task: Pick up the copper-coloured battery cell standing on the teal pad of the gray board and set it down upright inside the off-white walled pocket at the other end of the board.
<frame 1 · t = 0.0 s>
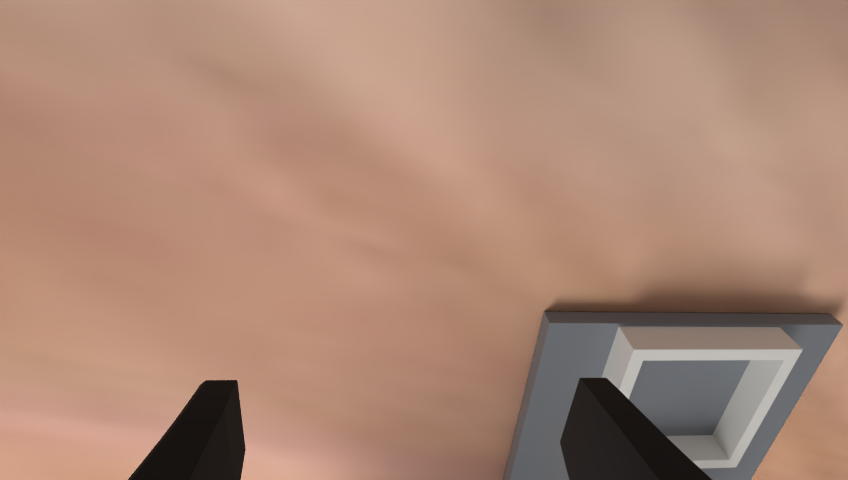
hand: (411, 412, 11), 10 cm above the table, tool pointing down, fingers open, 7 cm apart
gray board: (642, 433, 28), on the table
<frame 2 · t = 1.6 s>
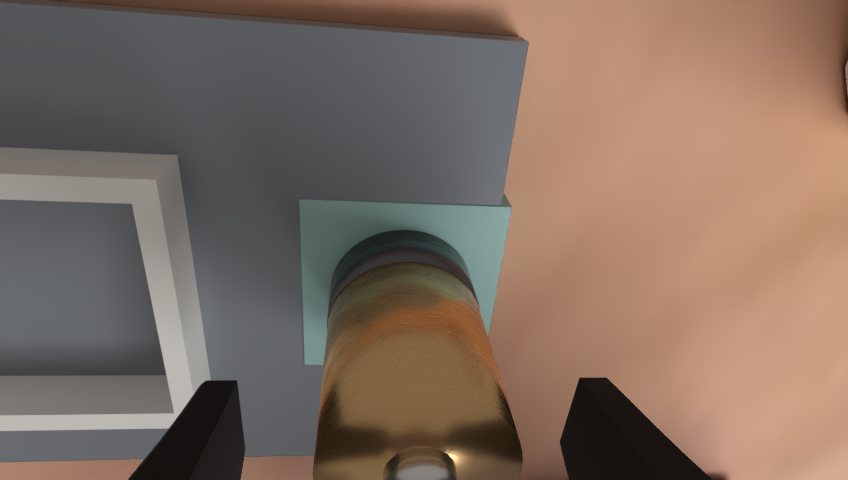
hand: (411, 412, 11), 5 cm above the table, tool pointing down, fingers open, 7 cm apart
gray board: (209, 271, 15), on the table
cell: (401, 291, 15), point 1 cm above the table, touching gray board
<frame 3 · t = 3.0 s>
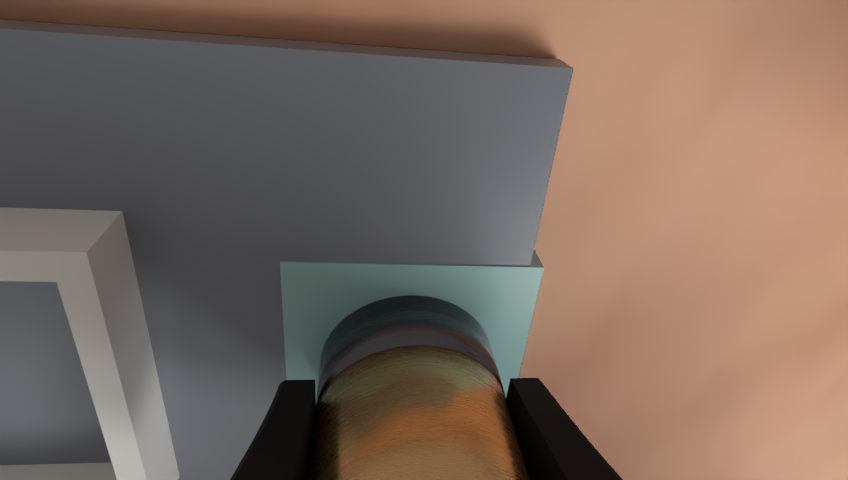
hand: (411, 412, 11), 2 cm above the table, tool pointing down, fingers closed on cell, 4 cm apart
gray board: (173, 341, 13), on the table
cell: (406, 364, 13), point 1 cm above the table, touching gray board, gripper
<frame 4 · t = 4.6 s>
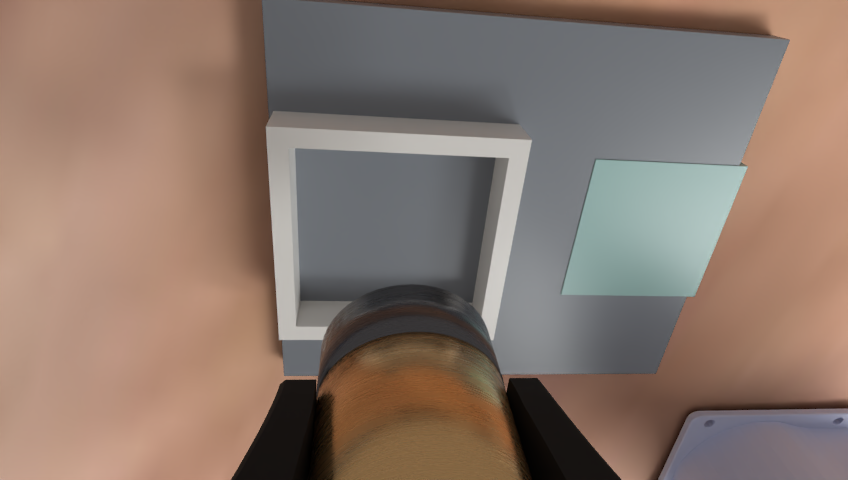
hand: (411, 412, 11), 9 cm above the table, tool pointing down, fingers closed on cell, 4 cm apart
gray board: (499, 218, 20), on the table
cell: (406, 354, 13), point 7 cm above the table, touching gripper
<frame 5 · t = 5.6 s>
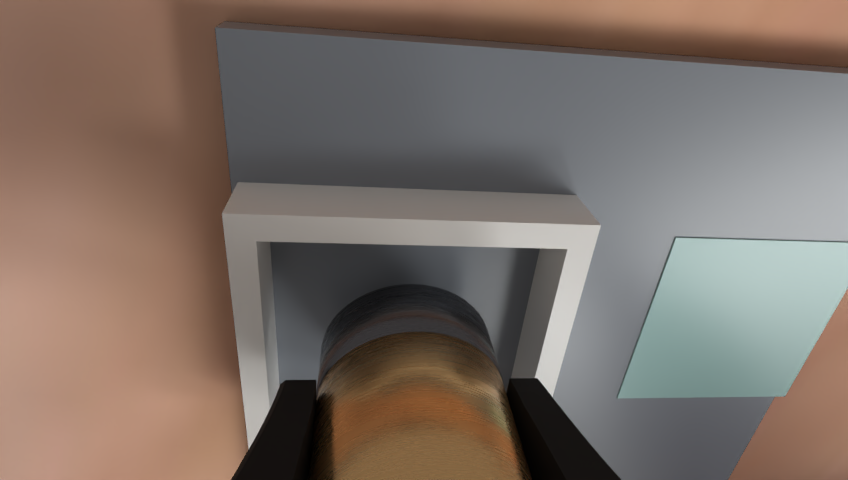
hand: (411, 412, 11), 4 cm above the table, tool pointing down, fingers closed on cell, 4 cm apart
gray board: (541, 306, 15), on the table
cell: (406, 353, 13), point 2 cm above the table, touching gripper
when the fingers open (4 cm above the table, at t = 6.4 s): cell drops 1 cm, resting on gray board.
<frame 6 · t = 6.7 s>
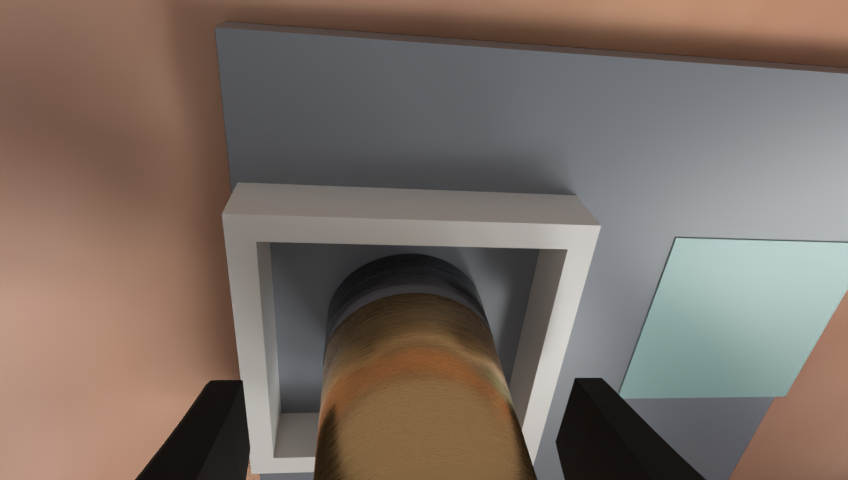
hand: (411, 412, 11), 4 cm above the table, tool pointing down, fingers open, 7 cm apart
gray board: (541, 306, 15), on the table
cell: (405, 319, 14), point 1 cm above the table, touching gray board
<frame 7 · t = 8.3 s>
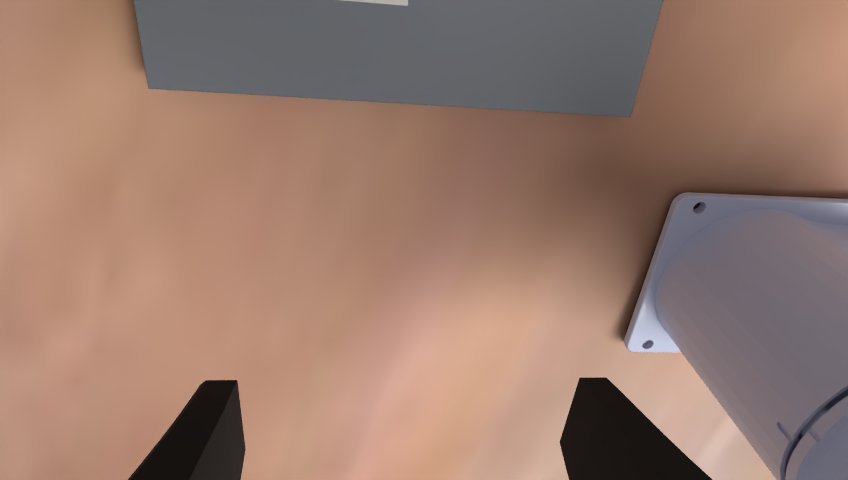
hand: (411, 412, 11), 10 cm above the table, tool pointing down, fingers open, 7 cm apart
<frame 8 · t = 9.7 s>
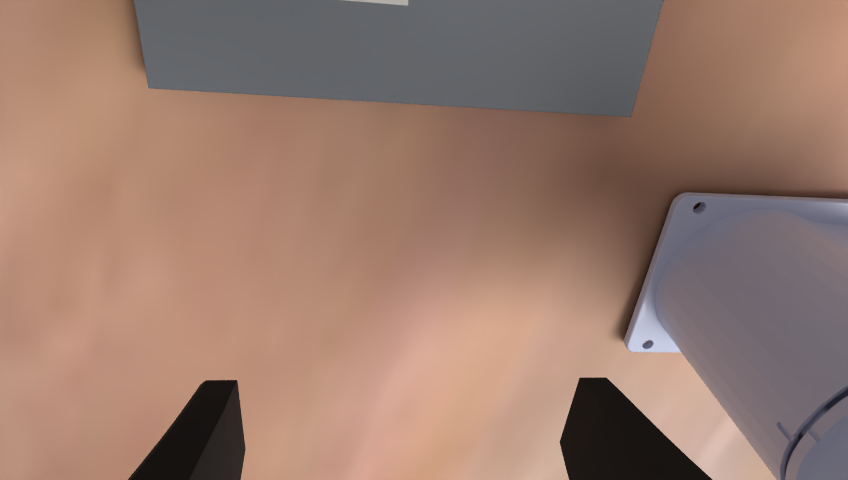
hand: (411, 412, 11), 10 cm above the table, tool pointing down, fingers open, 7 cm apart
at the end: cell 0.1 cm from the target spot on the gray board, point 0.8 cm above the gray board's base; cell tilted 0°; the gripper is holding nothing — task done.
